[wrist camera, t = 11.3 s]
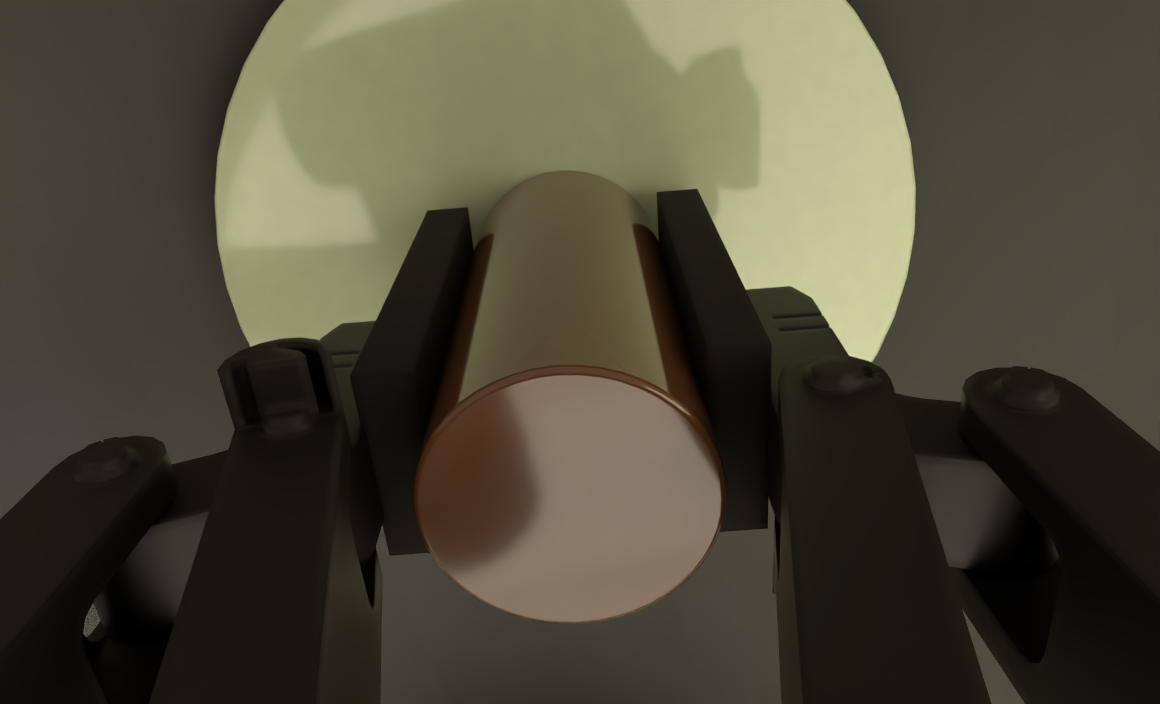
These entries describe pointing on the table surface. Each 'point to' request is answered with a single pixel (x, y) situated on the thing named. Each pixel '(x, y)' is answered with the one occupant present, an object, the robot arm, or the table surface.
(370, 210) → the canister lid
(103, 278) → the table surface
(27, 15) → the table surface
